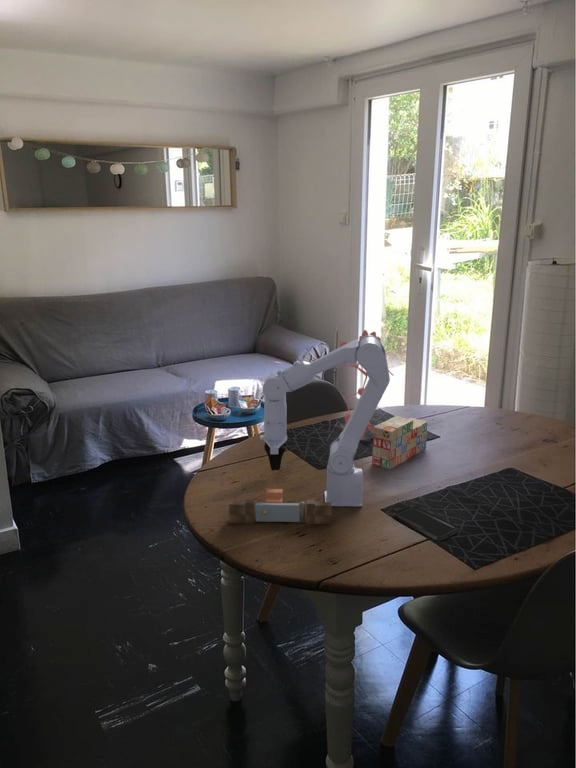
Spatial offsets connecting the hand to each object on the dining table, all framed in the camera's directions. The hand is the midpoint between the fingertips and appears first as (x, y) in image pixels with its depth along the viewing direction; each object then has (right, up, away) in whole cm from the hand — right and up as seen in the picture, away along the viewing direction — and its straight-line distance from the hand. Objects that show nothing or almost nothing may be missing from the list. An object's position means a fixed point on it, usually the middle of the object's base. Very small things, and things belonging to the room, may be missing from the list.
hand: (275, 469), depth 166 cm
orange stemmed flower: (+30, +6, +48) cm, 57 cm away
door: (+1, -11, -11) cm, 16 cm away
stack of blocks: (+38, 0, +29) cm, 47 cm away
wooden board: (+1, -11, -11) cm, 16 cm away
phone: (+37, -12, -11) cm, 40 cm away
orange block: (0, -10, -6) cm, 12 cm away
